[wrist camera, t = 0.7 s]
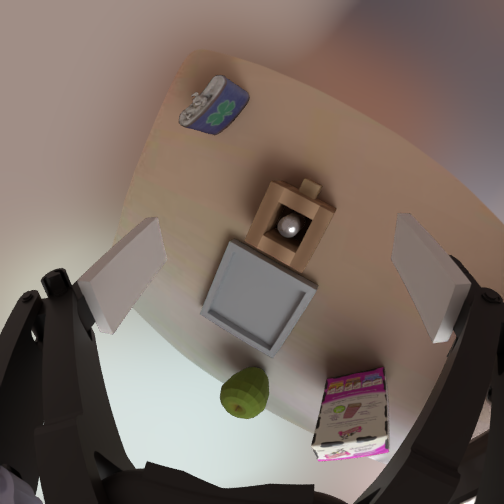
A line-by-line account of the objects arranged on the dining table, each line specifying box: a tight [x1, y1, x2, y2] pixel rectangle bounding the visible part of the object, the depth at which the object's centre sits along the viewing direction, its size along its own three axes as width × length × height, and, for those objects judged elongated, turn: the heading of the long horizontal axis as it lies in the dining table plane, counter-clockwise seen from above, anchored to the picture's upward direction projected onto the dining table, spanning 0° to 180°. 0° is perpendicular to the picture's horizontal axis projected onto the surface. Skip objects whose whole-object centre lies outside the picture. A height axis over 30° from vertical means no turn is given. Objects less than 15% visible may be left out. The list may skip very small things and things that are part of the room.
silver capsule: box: [278, 212, 305, 238], centre depth 39 cm, size 3×3×6 cm
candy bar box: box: [311, 367, 389, 461], centre depth 37 cm, size 11×5×16 cm, turn 113°
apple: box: [220, 367, 269, 419], centre depth 46 cm, size 9×8×12 cm
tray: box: [200, 239, 318, 358], centre depth 46 cm, size 15×15×2 cm
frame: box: [244, 178, 336, 273], centre depth 38 cm, size 9×11×6 cm
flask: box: [179, 75, 250, 135], centre depth 36 cm, size 9×3×11 cm, turn 134°
